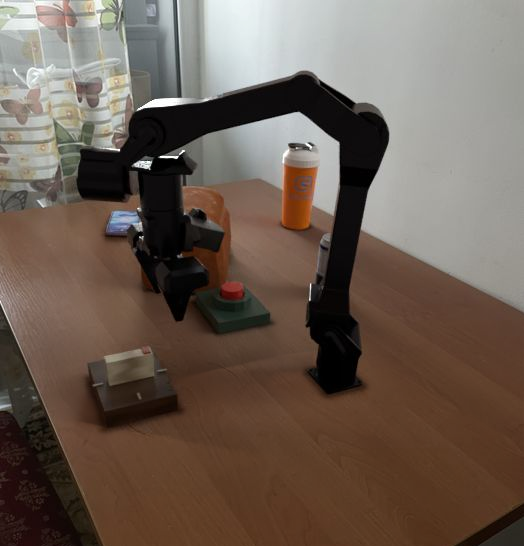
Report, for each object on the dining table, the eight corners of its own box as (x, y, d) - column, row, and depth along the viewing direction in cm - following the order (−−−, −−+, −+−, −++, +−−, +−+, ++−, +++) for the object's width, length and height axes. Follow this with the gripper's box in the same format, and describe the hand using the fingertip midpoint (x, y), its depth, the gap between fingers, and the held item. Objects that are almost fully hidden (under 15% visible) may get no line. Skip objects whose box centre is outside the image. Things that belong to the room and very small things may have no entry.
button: (246, 298, 99) (246, 289, 98) (226, 302, 98) (226, 293, 97) (237, 288, 102) (238, 280, 101) (217, 292, 100) (217, 283, 100)
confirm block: (269, 323, 99) (271, 303, 97) (218, 333, 95) (218, 313, 93) (243, 293, 108) (243, 275, 106) (195, 302, 104) (195, 283, 102)
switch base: (180, 409, 78) (179, 392, 76) (104, 429, 74) (101, 411, 72) (156, 364, 87) (155, 348, 85) (87, 379, 83) (84, 362, 81)
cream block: (109, 386, 77) (106, 361, 74) (106, 379, 78) (103, 354, 76) (154, 376, 79) (152, 351, 77) (151, 369, 81) (149, 345, 78)
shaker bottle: (272, 220, 143) (277, 140, 131) (302, 216, 146) (309, 138, 135) (288, 232, 136) (294, 149, 125) (319, 228, 139) (328, 147, 128)
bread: (138, 292, 107) (132, 218, 98) (158, 242, 127) (154, 178, 119) (225, 296, 107) (226, 223, 99) (232, 246, 127) (233, 182, 119)
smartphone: (141, 211, 141) (137, 233, 129) (142, 214, 142) (137, 236, 129) (112, 210, 140) (105, 232, 128) (112, 213, 141) (105, 235, 128)
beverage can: (341, 302, 107) (349, 245, 100) (312, 298, 108) (318, 241, 101) (343, 289, 112) (351, 234, 105) (315, 286, 113) (322, 230, 106)
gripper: (246, 220, 69) (244, 325, 78) (193, 178, 83) (196, 272, 92) (161, 232, 65) (169, 342, 74) (120, 186, 79) (131, 283, 87)
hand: (168, 306), depth 82 cm, fingers open, 9 cm apart
